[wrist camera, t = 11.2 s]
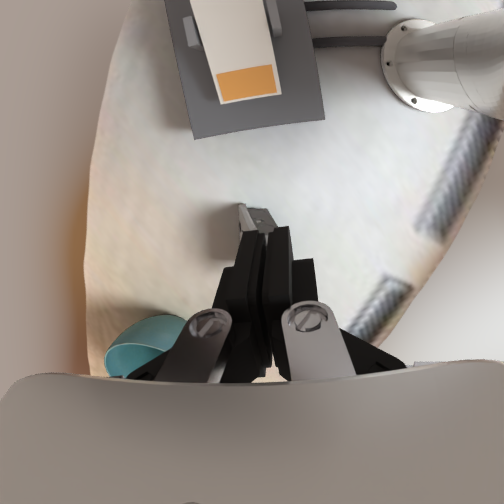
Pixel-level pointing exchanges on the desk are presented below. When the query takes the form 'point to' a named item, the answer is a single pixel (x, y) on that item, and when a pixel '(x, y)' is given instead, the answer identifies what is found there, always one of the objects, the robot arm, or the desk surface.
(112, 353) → the plant pot
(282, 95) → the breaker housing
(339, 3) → the three grey prongs
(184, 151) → the desk surface
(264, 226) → the electrical switch
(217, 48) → the breaker rocker
